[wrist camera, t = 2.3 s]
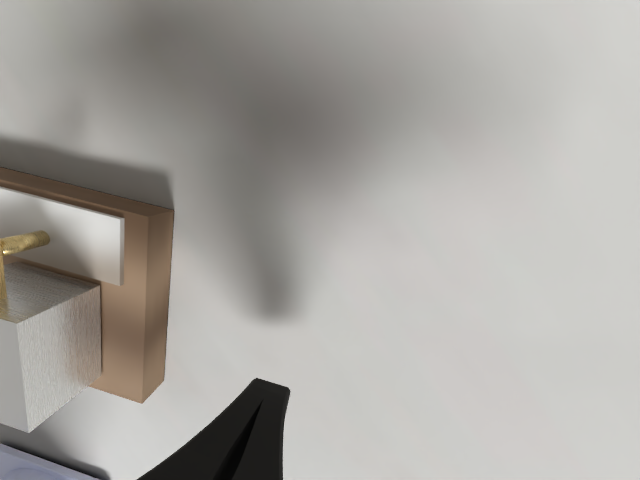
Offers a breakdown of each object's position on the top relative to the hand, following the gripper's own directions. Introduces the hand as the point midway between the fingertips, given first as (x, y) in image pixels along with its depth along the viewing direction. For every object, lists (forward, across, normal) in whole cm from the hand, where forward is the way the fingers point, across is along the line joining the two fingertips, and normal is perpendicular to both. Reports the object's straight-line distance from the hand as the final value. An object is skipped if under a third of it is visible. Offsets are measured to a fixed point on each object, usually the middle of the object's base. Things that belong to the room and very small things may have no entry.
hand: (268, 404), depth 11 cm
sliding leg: (+1, +10, -1) cm, 10 cm away
